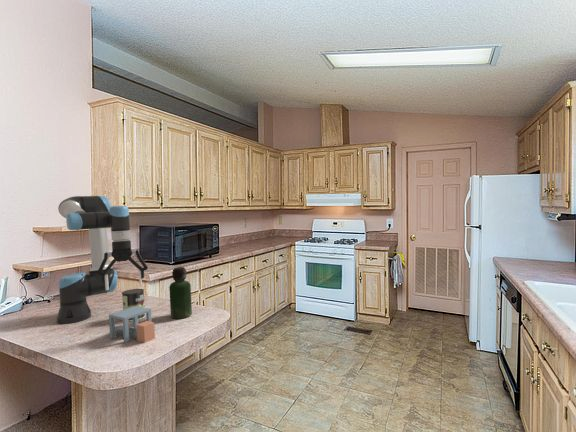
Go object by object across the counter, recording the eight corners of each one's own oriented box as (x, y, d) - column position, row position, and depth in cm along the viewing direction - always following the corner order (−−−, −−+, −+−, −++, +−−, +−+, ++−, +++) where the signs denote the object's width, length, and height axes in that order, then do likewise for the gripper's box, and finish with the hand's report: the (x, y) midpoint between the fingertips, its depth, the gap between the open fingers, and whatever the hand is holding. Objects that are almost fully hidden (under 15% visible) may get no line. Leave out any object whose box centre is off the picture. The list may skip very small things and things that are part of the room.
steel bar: (113, 334, 148) (112, 327, 148) (120, 331, 151) (120, 325, 151) (139, 340, 139) (138, 334, 139) (146, 337, 142) (145, 331, 142)
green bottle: (169, 320, 162) (167, 270, 162) (172, 313, 173) (170, 267, 172) (191, 318, 165) (188, 269, 164) (192, 311, 175) (190, 265, 174)
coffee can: (149, 315, 172) (148, 288, 171) (136, 322, 162) (135, 294, 161) (132, 314, 174) (130, 288, 173) (118, 321, 164) (117, 293, 163)
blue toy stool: (110, 338, 142) (108, 314, 142) (136, 327, 153) (135, 306, 153) (126, 342, 137) (124, 318, 136) (152, 331, 148) (150, 308, 148)
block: (137, 340, 138) (136, 324, 138) (147, 336, 143) (146, 320, 142) (144, 343, 136) (144, 326, 136) (154, 338, 140) (154, 322, 140)
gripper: (87, 243, 137) (90, 293, 137) (150, 238, 146) (153, 285, 146) (91, 242, 144) (94, 289, 145) (151, 237, 153) (154, 282, 153)
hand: (124, 287), depth 145 cm, fingers open, 13 cm apart
